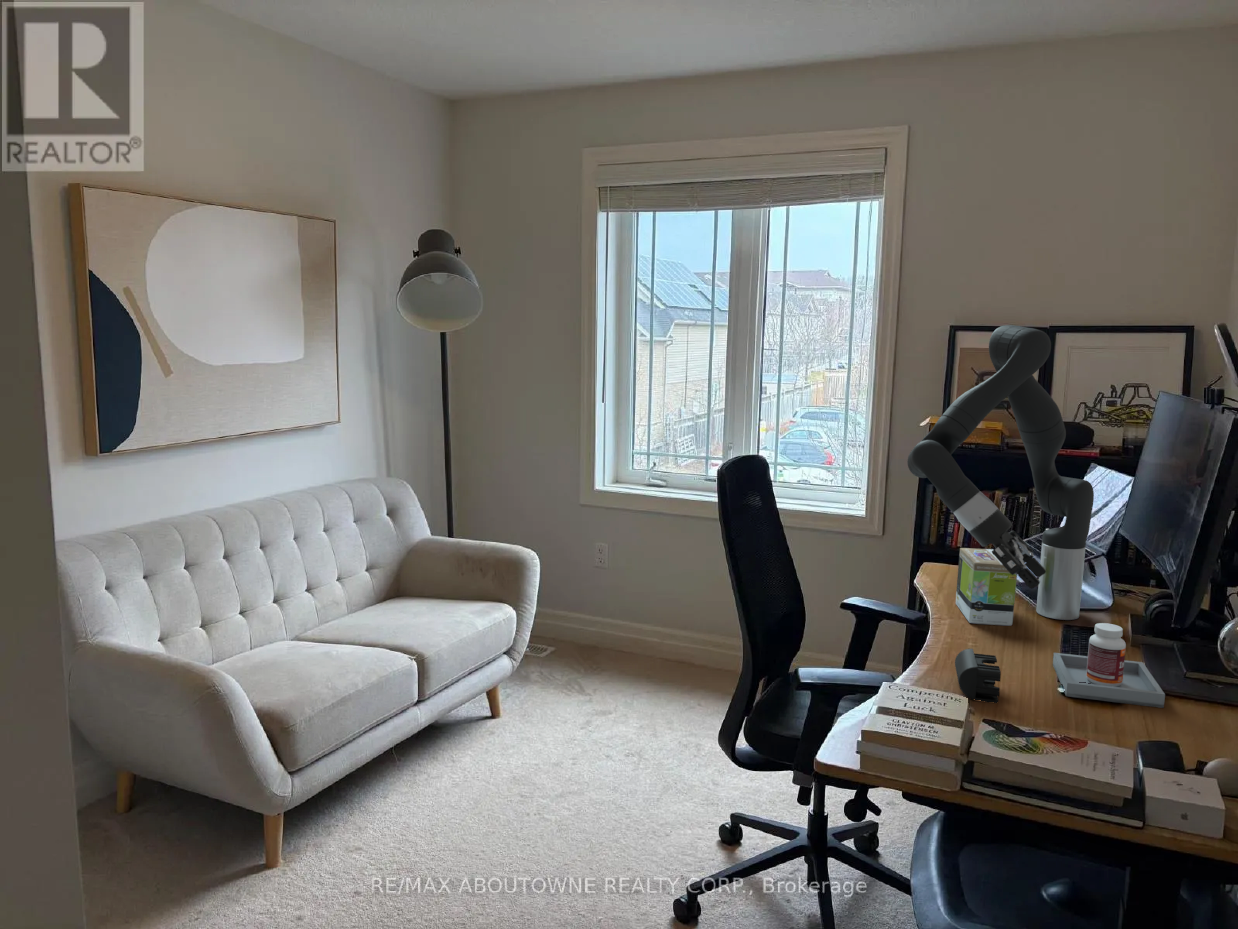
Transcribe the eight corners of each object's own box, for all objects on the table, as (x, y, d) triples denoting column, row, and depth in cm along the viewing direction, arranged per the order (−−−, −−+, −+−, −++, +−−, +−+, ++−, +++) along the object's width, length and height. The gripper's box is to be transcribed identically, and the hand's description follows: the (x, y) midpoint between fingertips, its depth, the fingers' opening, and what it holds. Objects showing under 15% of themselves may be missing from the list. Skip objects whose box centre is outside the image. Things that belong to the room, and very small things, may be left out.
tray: (1052, 664, 178) (1053, 652, 177) (1141, 674, 173) (1142, 662, 173) (1066, 696, 163) (1067, 683, 162) (1163, 708, 158) (1165, 694, 158)
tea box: (1014, 626, 200) (1019, 564, 198) (968, 624, 202) (972, 562, 200) (996, 606, 215) (1001, 548, 213) (954, 604, 217) (958, 546, 214)
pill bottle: (1125, 690, 164) (1130, 634, 162) (1088, 685, 166) (1093, 630, 164) (1118, 677, 170) (1123, 623, 168) (1083, 673, 172) (1087, 620, 170)
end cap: (953, 679, 171) (955, 646, 170) (992, 683, 169) (995, 650, 168) (957, 700, 161) (959, 665, 160) (998, 705, 159) (1001, 670, 158)
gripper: (989, 514, 172) (1050, 579, 168) (1002, 500, 184) (1059, 560, 180) (960, 537, 176) (1018, 600, 172) (975, 522, 188) (1029, 581, 184)
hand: (1039, 580), depth 176 cm, fingers open, 8 cm apart
